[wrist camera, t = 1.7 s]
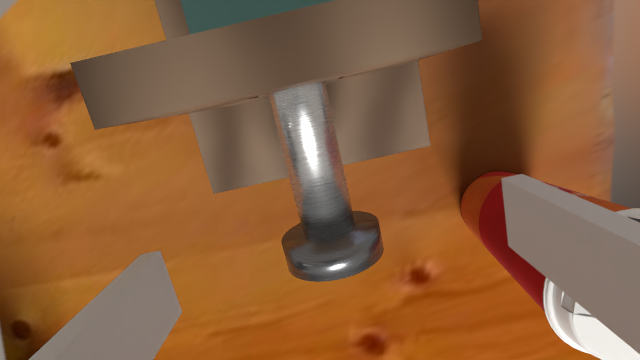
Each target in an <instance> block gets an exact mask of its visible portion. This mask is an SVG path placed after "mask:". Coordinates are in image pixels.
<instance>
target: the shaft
mask: <svg viewBox="0 0 640 360" xmlns="http://www.w3.org/2000/svg"><path fill="white" fill-rule="evenodd" d="M268 95H269V99H270V103H271V107H272V111H273V115H274V119H275V123H276V127H277V131H278V135H279V139H280V143H281V147H282V151H283V155H284V159H285V163H286V167H287V171H288V175H289V179H290V183H291V187H292V191H293V195H294V199H295V203H296V207H297V211H298V215H299V219H300V223H299V224H297V225H296V226H294V227H292V228H291V229H290V230H289V231H287V232H286V233H285V235H284V236H283V238H282V246H283V250H284V253H285V257H286V261H287V265H288V268H289V271H290V273H291V274H292V275H293V276H295V277H297V278H299V279H302V280H306V281H317V282H319V281H332V280H338V279H342V278H346V277H349V276H352V275H355V274H357V273H360V272H362V271H364V270H366V269H367V268H369V267H371V266H372V265H373V264H375V263H376V262H377V261H378V260H379V259H380V257H381V256H382V254H383V251H384V247H383V242H382V237H381V232H380V227H379V222H378V219H377V218H376V217H375V216H374V215H372V214H370V213H367V212H362V211H352V206H351V201H350V197H349V192H348V187H347V182H346V178H345V173H344V168H343V163H342V159H341V154H340V149H339V144H338V140H337V135H336V130H335V126H334V121H333V116H332V111H331V107H330V102H329V97H328V92H327V88H326V83H325V81H322V82H317V83H313V84H309V85H304V86H300V87H296V88H291V89H287V90H282V91H278V92H274V93H269V94H268Z"/></svg>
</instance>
